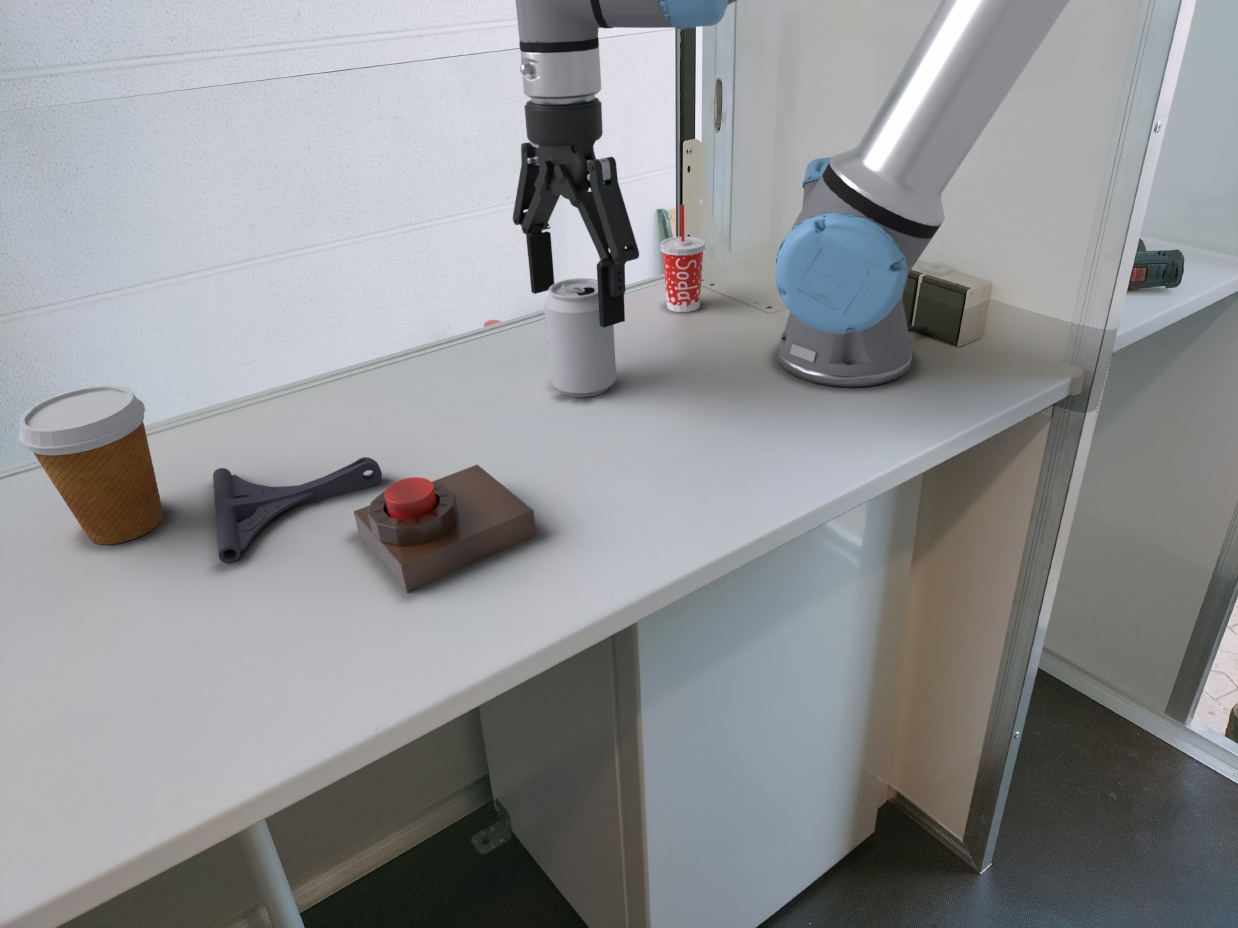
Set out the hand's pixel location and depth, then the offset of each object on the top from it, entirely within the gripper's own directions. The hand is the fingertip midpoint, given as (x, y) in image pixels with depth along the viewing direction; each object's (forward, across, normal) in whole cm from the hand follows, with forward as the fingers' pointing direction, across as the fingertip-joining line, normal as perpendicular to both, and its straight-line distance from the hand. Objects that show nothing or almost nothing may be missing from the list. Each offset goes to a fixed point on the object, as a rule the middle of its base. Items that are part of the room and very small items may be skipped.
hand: (576, 306), depth 94 cm
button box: (+10, +17, -26) cm, 33 cm away
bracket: (+10, +3, -34) cm, 35 cm away
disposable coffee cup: (+10, -4, -48) cm, 49 cm away
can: (+10, 0, 0) cm, 10 cm away
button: (+6, +17, -28) cm, 34 cm away
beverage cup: (+10, -12, +25) cm, 29 cm away
